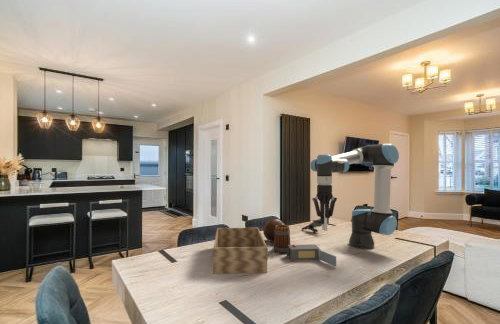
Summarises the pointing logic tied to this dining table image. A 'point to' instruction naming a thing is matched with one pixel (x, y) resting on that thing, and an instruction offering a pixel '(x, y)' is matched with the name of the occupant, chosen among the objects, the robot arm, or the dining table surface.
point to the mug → (281, 238)
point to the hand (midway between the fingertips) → (324, 230)
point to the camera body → (303, 252)
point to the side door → (327, 257)
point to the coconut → (271, 229)
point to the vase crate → (239, 251)
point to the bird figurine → (313, 225)
